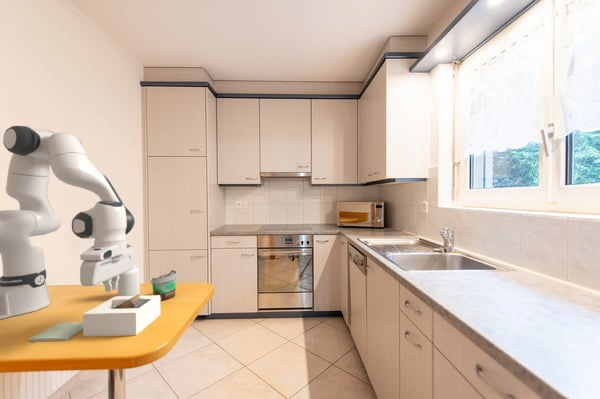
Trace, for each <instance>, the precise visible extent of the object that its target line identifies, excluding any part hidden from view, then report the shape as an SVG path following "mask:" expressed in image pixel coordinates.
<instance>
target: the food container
mask: <svg viewBox="0 0 600 399" xmlns="http://www.w3.org/2000/svg"><path fill="white" fill-rule="evenodd" d="M178 277H179V276H178V272H177V271H176V270H170V272H169V273H165V274H162V275H160V276H159V277H152V278H151V280H150V284H152V293H153V294H152V295H160V302H164V301H168V300H172V299H173V298H175V297H176V288H177V285H176V284H177V278H178Z"/></svg>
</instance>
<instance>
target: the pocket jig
mask: <svg viewBox="0 0 600 399" xmlns="http://www.w3.org/2000/svg"><path fill="white" fill-rule="evenodd" d="M132 297H134V296H118V295H117V296H116V295H115V296H113V297H111V298H110V299H108V300H105V301H104V302H102V303H100V304H99V305H97V306H95V307H93V308H91V309H90V310H87V311H85V312H84V313H83V314H82V322H83V331H82V332H83V333H82V334H83V337H116V336H117V337H119V336H137V335H138V334H140V332H142V331H143V330H144V329H145V328H147V327H148V326H149V325H150V324H151V323H152V322H153V321H154V320H156V319H158V318H159V316H161V312H162V311H161V301H160V295H153V294H152V295H151V294H150V295H139V297H140V299H142V298H143V300H145V302H144V303H143V304H141V305H140V306H138V307H137V308H128V309H112V308H114V307H116V306H118V305H119V304H121V303H123V302H125V301H127V300H129V299H131V298H132Z"/></svg>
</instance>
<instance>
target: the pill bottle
mask: <svg viewBox="0 0 600 399" xmlns="http://www.w3.org/2000/svg"><path fill="white" fill-rule="evenodd" d="M140 272H141V270H140V268H139V267H137V261H135V266H134V268H133V269H131V270H129V271H127V272H125V273H122V274H120V278H119V280H118V283H117V296H136V295H139V296H141V295H140V294H141V278H140V277H141V276H140V275H141V273H140Z"/></svg>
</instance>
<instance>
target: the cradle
mask: <svg viewBox="0 0 600 399" xmlns="http://www.w3.org/2000/svg"><path fill="white" fill-rule="evenodd" d="M144 302H145V300H143V298H142V299H140V300H138V301H137V302H135V303H134V304H133V305H134V307H133V308H137V307H138V306H140V305H141V304H143V303H144Z"/></svg>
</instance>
